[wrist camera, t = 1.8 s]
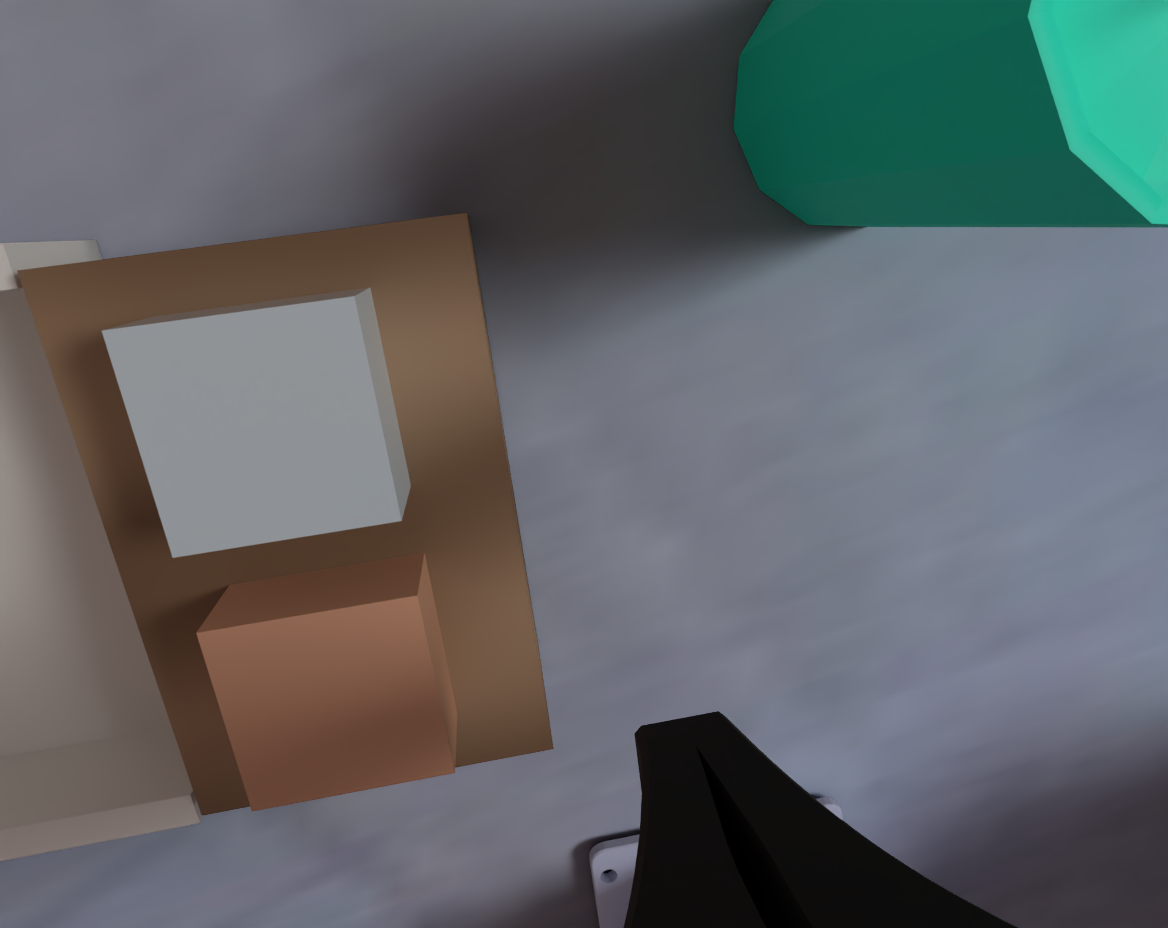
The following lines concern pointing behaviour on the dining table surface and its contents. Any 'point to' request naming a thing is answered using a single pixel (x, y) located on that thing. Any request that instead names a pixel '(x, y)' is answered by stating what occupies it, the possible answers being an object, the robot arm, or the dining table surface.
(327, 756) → the tile terracotta
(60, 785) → the tray
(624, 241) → the dining table surface
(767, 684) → the dining table surface
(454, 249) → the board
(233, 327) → the grey rectangular prism
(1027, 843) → the dining table surface
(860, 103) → the candle
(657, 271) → the dining table surface
